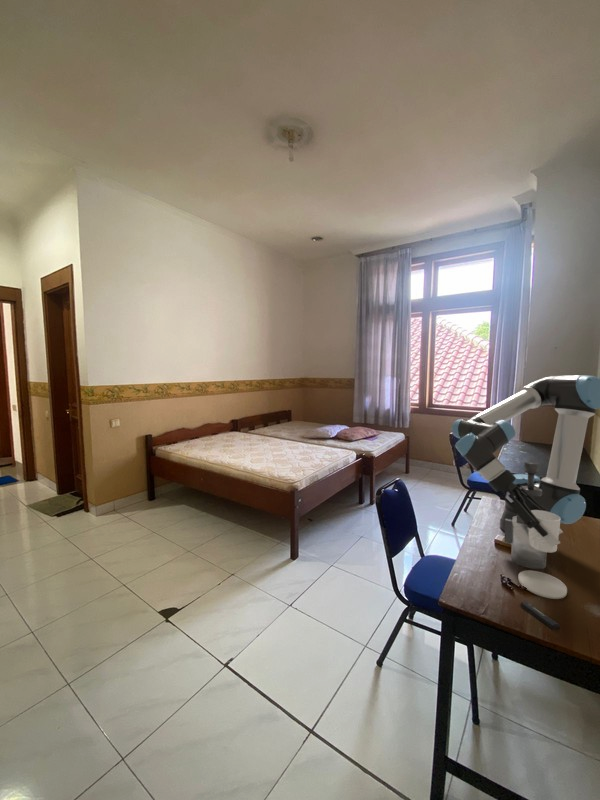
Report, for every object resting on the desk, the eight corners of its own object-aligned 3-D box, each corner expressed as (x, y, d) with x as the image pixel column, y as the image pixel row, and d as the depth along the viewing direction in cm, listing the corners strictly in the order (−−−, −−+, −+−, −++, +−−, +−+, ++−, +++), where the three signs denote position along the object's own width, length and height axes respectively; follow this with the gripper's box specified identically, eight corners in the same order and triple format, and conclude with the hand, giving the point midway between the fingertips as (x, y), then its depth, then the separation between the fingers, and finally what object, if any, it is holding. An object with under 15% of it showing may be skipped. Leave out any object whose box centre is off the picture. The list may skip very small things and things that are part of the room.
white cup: (541, 539, 105) (542, 508, 104) (566, 552, 97) (567, 519, 96) (520, 542, 103) (521, 511, 102) (544, 555, 96) (545, 522, 95)
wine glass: (518, 509, 113) (519, 464, 111) (519, 503, 118) (520, 459, 117) (541, 514, 109) (542, 466, 108) (541, 508, 114) (543, 462, 113)
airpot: (502, 560, 115) (504, 507, 114) (505, 548, 123) (507, 498, 121) (550, 573, 107) (553, 517, 105) (551, 559, 115) (553, 506, 113)
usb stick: (560, 629, 84) (561, 623, 84) (553, 631, 84) (553, 626, 84) (526, 604, 94) (526, 599, 93) (519, 606, 93) (519, 601, 93)
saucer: (519, 569, 110) (520, 566, 109) (566, 582, 102) (566, 579, 102) (516, 588, 100) (516, 584, 100) (567, 604, 93) (567, 600, 93)
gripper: (494, 474, 117) (549, 532, 107) (479, 490, 102) (541, 559, 92) (513, 462, 113) (571, 521, 103) (499, 476, 98) (566, 547, 88)
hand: (557, 539), depth 98 cm, fingers closed on white cup, 8 cm apart
